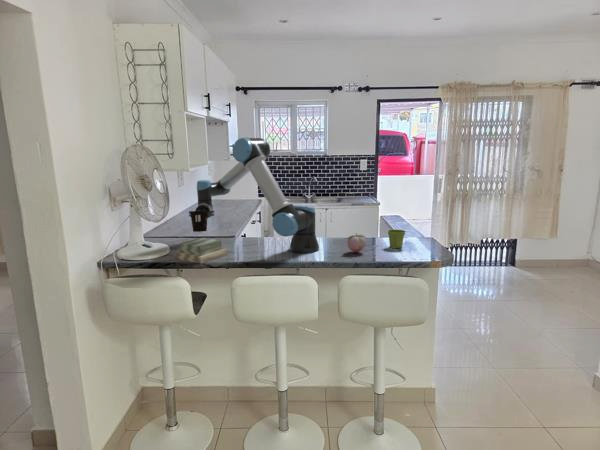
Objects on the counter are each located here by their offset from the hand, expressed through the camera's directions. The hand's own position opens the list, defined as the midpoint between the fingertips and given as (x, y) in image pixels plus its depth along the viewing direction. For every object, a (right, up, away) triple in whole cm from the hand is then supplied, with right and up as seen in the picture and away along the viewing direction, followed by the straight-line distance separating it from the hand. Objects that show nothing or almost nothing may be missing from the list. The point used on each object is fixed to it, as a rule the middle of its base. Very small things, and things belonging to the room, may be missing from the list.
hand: (197, 218), depth 185 cm
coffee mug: (-1, -6, +5) cm, 8 cm away
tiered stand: (0, -19, +9) cm, 21 cm away
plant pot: (+99, -15, +20) cm, 102 cm away
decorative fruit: (+77, -17, +11) cm, 79 cm away
